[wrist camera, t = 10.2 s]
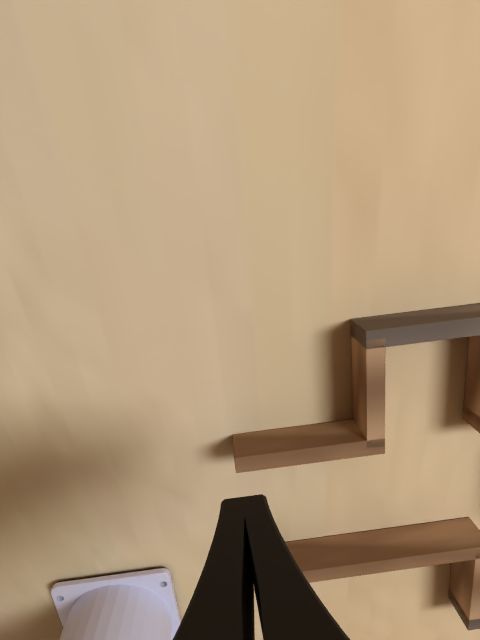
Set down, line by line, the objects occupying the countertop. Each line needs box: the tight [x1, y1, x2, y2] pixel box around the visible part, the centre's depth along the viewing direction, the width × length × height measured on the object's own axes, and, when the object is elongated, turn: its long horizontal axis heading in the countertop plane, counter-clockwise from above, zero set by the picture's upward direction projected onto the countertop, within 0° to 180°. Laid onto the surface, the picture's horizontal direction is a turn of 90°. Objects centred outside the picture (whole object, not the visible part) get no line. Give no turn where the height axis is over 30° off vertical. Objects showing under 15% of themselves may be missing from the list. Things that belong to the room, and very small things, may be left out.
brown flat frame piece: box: [233, 303, 480, 630], centre depth 22 cm, size 23×26×2 cm
